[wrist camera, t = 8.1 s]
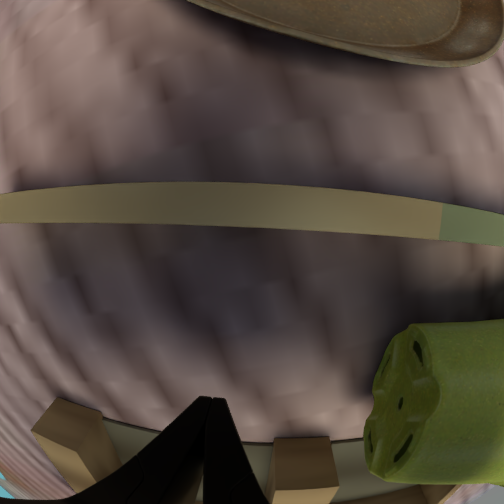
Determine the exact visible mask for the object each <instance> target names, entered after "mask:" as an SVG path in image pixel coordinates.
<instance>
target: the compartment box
mask: <svg viewBox="0 0 504 504" xmlns="http://www.w3.org/2000/svg"><path fill="white" fill-rule="evenodd" d="M0 223H133V224H175V225H206V226H232V227H255V228H275V229H294V230H311V231H328V232H343V233H358V234H372V235H385V236H398V237H410V238H422V239H433V240H444V241H455V242H465V243H475V244H485V245H494V246H503V247H504V215H503V214H499V213H494V212H490V211H485V210H480V209H475V208H470V207H465V206H459V205H454V204H448V203H442V202H436V201H430V200H424V199H417V198H410V197H403V196H396V195H388V194H380V193H372V192H363V191H354V190H344V189H333V188H322V187H309V186H295V185H279V184H260V183H233V182H140V183H114V184H96V185H80V186H68V187H56V188H46V189H36V190H27V191H19V192H11V193H4V194H0ZM31 432H32V433H33V435H34V436H35V438H36V440H37V441H38V443H39V444H40V446H41V447H42V449H43V450H44V452H45V453H46V455H47V456H48V457H49V459H50V460H51V462H52V463H53V464H54V466H55V467H56V468H57V470H58V471H59V472H60V474H61V475H62V476H63V477H64V479H65V480H66V481H67V482H68V484H69V485H70V486H71V487H72V488H73V490H74V491H75V492H76V493H79V492H81V491H83V490H84V489H86V488H88V487H90V486H91V485H93V484H95V483H97V482H98V481H100V480H102V479H103V478H105V477H107V476H108V475H110V474H111V473H113V472H114V471H116V470H117V469H118V468H120V467H121V466H122V465H124V464H125V463H126V462H127V461H129V460H130V459H131V458H132V457H133V456H134V455H137V453H138V452H139V451H140V450H142V449H143V448H144V447H145V446H146V445H147V444H148V443H149V442H151V441H152V440H153V439H154V438H155V437H156V436H157V435H158V434H159V433H161V432H159V431H154V430H149V429H145V428H140V427H136V426H132V425H128V424H124V423H120V422H117V421H113V420H109V419H106V418H103V416H102V414H101V412H99V411H96V410H92V409H89V408H86V407H83V406H80V405H77V404H74V403H72V402H69V401H66V400H63V399H61V398H58V397H57V398H56V399H55V401H54V402H53V403H52V404H51V405H50V407H49V408H48V409H47V410H46V412H45V413H44V414H43V415H42V417H41V418H40V419H39V420H38V422H37V423H36V424H35V425H34V427H33V428H32V429H31ZM242 445H243V447H244V450H245V452H246V455H247V457H248V460H249V462H250V464H251V467H252V469H253V473H254V474H255V476H256V478H257V481H258V483H259V485H260V487H261V489H262V491H263V493H264V495H265V496H266V498H267V500H268V501H269V503H270V504H443V503H444V502H445V501H446V500H447V499H448V498H449V497H450V496H451V495H452V494H453V493H454V492H455V491H456V490H457V489H458V488H459V487H460V486H461V485H462V484H409V483H396V482H387V481H384V480H383V479H381V478H379V477H377V476H376V475H374V474H372V473H370V471H369V470H368V467H367V464H366V461H365V453H364V438H361V439H353V440H344V441H333V442H331V443H330V438H329V437H317V438H274V443H273V444H270V443H244V442H242ZM195 504H203V476H202V480H201V483H200V487H199V490H198V494H197V497H196V501H195Z"/></svg>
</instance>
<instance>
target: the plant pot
mask: <svg viewBox="0 0 504 504" xmlns="http://www.w3.org/2000/svg"><path fill="white" fill-rule="evenodd" d="M372 393H373V396H374V407H373V410H372V413H371V414H370V416H369V417H368V418H367V420H366V423H365V426H364V434H363V438H364V453H365V461H366V464H367V467H368V470H369V471H370V473H372V474H374V475H376V476H377V477H379V478H381V479H383V480H384V481H387V482H396V483H409V484H480V483H490V484H494V485H499V486H502V487H504V319H497V320H486V321H475V322H447V323H414V324H410V325H409V326H408V329H406V330H404V331H402V332H400V333H398V334H396V335H395V336H394V337H393V339H392V340H391V342H390V344H389V345H388V347H387V349H386V350H385V353H384V356H383V358H382V361H381V363H380V366H379V368H378V370H377V372H376V375H375V378H374V381H373V388H372Z"/></svg>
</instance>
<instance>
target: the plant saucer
mask: <svg viewBox="0 0 504 504" xmlns="http://www.w3.org/2000/svg"><path fill="white" fill-rule="evenodd" d="M187 1H189V2H191V3H194V4H196V5H198V6H200V7H203V8H206V9H208V10H211V11H213V12H216V13H218V14H221V15H224V16H227V17H229V18H232V19H235V20H238V21H241V22H244V23H247V24H250V25H253V26H256V27H259V28H263V29H266V30H269V31H272V32H276V33H279V34H282V35H285V36H289V37H293V38H297V39H300V40H304V41H307V42H311V43H315V44H319V45H323V46H327V47H331V48H335V49H339V50H343V51H347V52H351V53H355V54H360V55H364V56H369V57H374V58H380V59H385V60H390V61H395V62H401V63H407V64H414V65H421V66H430V67H464V66H470V65H474V64H477V63H480V62H482V61H484V60H487V59H488V58H490V57H491V56H493V55H494V54H495V53H496V52H497V51H498V49H499V48H500V46H501V44H502V42H503V40H504V3H503V0H187Z"/></svg>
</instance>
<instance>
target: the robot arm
mask: <svg viewBox="0 0 504 504" xmlns="http://www.w3.org/2000/svg"><path fill="white" fill-rule="evenodd" d="M202 476H203V504H270V503H269V501H268V500H267V498H266V496H265V495H264V493H263V491H262V489H261V487H260V485H259V483H258V481H257V478H256V476H255V474H254V473H253V469H252V467H251V464H250V462H249V460H248V457H247V455H246V452H245V450H244V447H243V445H242V442H241V439H240V437H239V434H238V432H237V429H236V426H235V424H234V421H233V418H232V416H231V413H230V410H229V407H228V404H227V402H226V399H225V398H217V397H214V398H213V399H212V398H211V397H207V396H199V397H198V398H197V399H196V400H195V401H194V402H193V403H192V404H191V405H190V406H188V407H187V408H186V409H185V410H184V411H183V412H182V413H181V414H180V415H179V416H178V417H177V418H176V419H175V420H174V421H173V422H171V423H170V424H169V425H168V426H167V427H166V428H165V429H164V430H163V431H162V432H161V433H159V434H158V435H157V436H156V437H155V438H154V439H153V440H152V441H151V442H149V443H148V444H147V445H146V446H145V447H144V448H143V449H142V450H140V451H139V452H138V453H137V455H134V456H133V457H132V458H131V459H130V460H129V461H127V462H126V463H125V464H124V465H122V466H121V467H120V468H118V469H117V470H116V471H114V472H113V473H111V474H110V475H108V476H107V477H105V478H103V479H102V480H100V481H98V482H97V483H95V484H93V485H91V486H90V487H88V488H86V489H84V490H83V491H81V492H79V493H77V494H75V495H73V496H71V497H68V498H64V499H58V500H26V499H10V498H3V497H0V504H195V501H196V497H197V494H198V490H199V487H200V483H201V480H202Z"/></svg>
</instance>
